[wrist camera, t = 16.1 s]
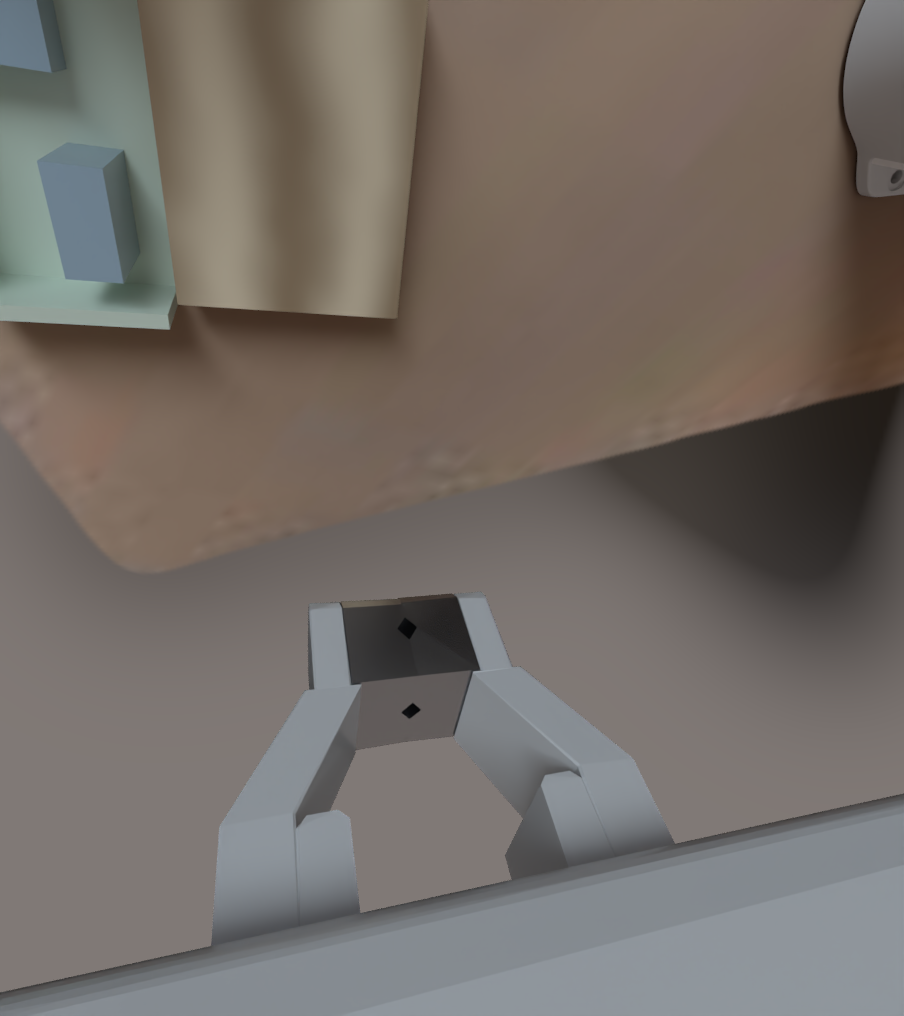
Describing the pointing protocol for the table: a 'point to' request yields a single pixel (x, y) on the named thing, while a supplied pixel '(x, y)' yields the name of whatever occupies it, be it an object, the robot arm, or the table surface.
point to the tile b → (91, 211)
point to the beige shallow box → (286, 148)
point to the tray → (90, 121)
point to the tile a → (30, 35)
